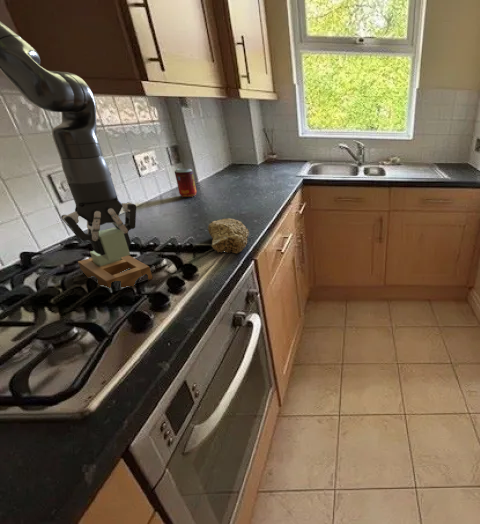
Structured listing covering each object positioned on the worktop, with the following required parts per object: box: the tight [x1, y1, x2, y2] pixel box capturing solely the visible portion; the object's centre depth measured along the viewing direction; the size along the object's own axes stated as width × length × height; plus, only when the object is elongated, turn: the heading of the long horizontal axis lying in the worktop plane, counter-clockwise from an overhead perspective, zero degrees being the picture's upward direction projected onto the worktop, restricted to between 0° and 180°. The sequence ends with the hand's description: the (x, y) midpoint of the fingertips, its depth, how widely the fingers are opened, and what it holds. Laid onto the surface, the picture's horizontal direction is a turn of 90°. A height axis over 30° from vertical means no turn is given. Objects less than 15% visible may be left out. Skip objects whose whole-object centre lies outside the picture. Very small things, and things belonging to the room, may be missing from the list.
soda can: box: [174, 167, 198, 198], centre depth 148 cm, size 7×7×12 cm
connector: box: [77, 255, 153, 288], centre depth 83 cm, size 9×16×4 cm, turn 56°
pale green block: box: [99, 226, 131, 261], centre depth 77 cm, size 4×4×6 cm
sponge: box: [207, 218, 250, 254], centre depth 103 cm, size 13×8×20 cm
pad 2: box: [89, 250, 121, 267], centre depth 84 cm, size 4×4×6 cm
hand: (114, 250), depth 78 cm, fingers closed on pale green block, 4 cm apart
